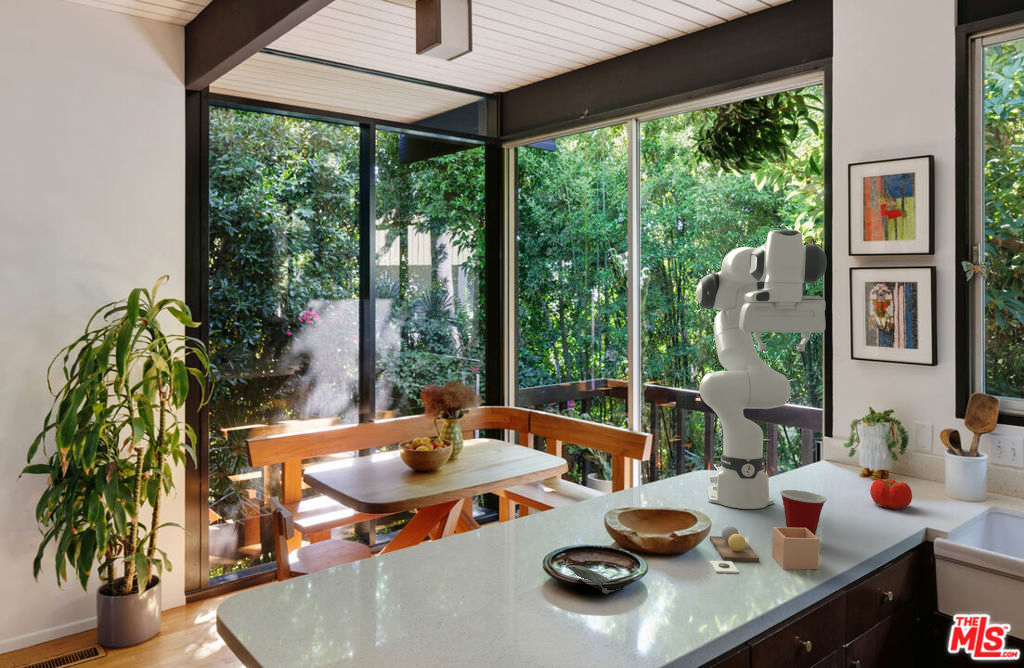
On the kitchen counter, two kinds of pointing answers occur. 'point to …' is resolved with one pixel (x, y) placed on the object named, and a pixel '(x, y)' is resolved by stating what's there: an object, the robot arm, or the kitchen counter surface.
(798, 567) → the terracotta open box
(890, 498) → the tomato
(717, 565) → the tile
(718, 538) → the walnut board
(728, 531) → the grey ball
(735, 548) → the ochre ball
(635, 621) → the kitchen counter surface
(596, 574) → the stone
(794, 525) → the plastic cup
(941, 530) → the kitchen counter surface
